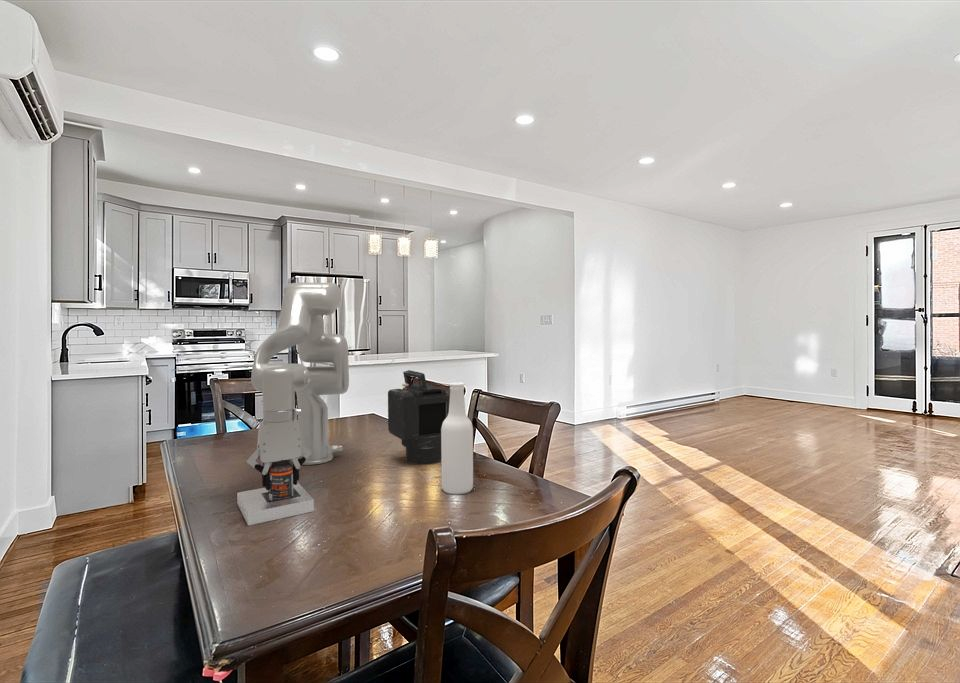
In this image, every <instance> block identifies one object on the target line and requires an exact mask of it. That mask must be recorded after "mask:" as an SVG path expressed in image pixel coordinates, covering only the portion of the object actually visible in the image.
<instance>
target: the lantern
mask: <svg viewBox="0 0 960 683" xmlns="http://www.w3.org/2000/svg"><path fill="white" fill-rule="evenodd" d="M402 373H403V378H404V383H402V385H401V386H402V388H394V389H393V388H392V389H389V390H388V391H387V430H388V432H389V433H390V434H391V435H392V436H394V437H396V438H398V439H400V440H401V446H402V447H405V460H406V462H408V463H409V464H415V465H431V464H436V463H438V462H440V461H441V428H442V424H443V421H444V420H445V419H446V417H447V416H448V413H449V401H450V394H449V395H448V391H447V390H446V389H444V388H441V387H437V386H432V385H429V384H427V381H426V374H425V373H423V372H419V371H414V370H410V369H409V370H405V371H402ZM412 377H414V378H417V379H418V384H413V380H412Z"/></svg>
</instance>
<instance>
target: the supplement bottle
mask: <svg viewBox="0 0 960 683" xmlns="http://www.w3.org/2000/svg"><path fill="white" fill-rule="evenodd" d="M268 473H269V475H270V489H269V490H268V495H269V496H268V497H269V502H275V501H280V500H285V499H290V498H293V464H291V463H290V460H281V461H278V462H273V463H271V465H270V467H269V469H268Z"/></svg>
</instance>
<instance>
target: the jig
mask: <svg viewBox="0 0 960 683" xmlns="http://www.w3.org/2000/svg"><path fill="white" fill-rule="evenodd" d="M268 496H269V495H268V490H266V488H265V487H261V488H256V489H255V488H254V489H250V490H245V491H240V492H237V493H236V500H237V501H236V502H237V506H238V508H239V510H240V512H241V514H242V516H243V519H244V520H245V523H246V524H247V526H254V525H257V524H262V523H267V522H272V521H275V520H281V519H285V518H290V517H295V516H298V515H303V514H308V513H312V512H314V511H315V503H314V502H315V499H314V498H313V497H312V496H311V495H310V493H308V492H307V490H306V489H305V488H304V487H303V486H302V485H301V484H300V483H299V482H298V481H297V485H294V484H293V498H290V499H285V500H280V501H275V502H269V497H268Z"/></svg>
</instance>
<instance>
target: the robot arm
mask: <svg viewBox="0 0 960 683" xmlns="http://www.w3.org/2000/svg"><path fill="white" fill-rule="evenodd" d="M341 301H342V294H341V289H340V287H339V286H338V284H337V283H334V282H310V281H309V282H307V281H305V282H302V281H301V282H292V283H288V284H286V285H285V286H284V288H283V297H282V303H281V307H280V308H281V309H280V314H279V319H278V324H277V325H278V326H277V330H275V331H274V332H273V333H271V335H269V336H268V337H266V339H265V340H264V341H263V342H262V343H261V344H260V345H259V347H258V348H257V351H256V352H255V354H254V357H253V358H254V359H253V363H252V368H251V373H250V374H251V376H250V379H251V380H250V382H251V385H252V388H254V390H256V391H257V392H261V393H262V418H263V419H262V421H260V422H259V424H258V432H257V444H256V445H257V446H256V449H255V451H254V452H253V453H252V454H251V455H250V456H249V458H248V459H247V460H246V463H247V464H248V465H250V467H252V468H253V469H256V470H257V471H258V472H259V473H260V474H261V485H262V488H266V490H269V489H270V475H269V473H268V469H269V467H270V466H271V465H272V463H273V462H278V461H281V460H289V461H291V463H292V464H291V465H292V466H293V484H294V485H297V482H298V481H299V480H300V469H301V466H302V465H304V466H305V465H307V466H310V465H311V466H312V465H319V464H320V465H321V464H324V463H328V462H330V461H332V460H333V459H334V452H343V451H344V450H343V449H344V448H343V445H342V444H341V445H336V444H334V445H330V444H329V421H328V420H329V415H328V414H329V412H328V411H329V410H328V406H327V403H326V402H325V401H324V399H323V398H322V397H321V396H326V395H327V396H328V395H330V396H331V395H343V394H346V393H347V392H348V389H349V386H350V384H349V383H350V375H349V374H350V372H349V371H350V370H349V369H350V368H349V346H348V341H347V339H346V338H345V336H344V335H342V334H338V333H336V334H335V333H325V320H324V316H331V315H333V314H334V313H335V311H336V310H337V309H338V308H339V306H340V305H341V304H340V303H341ZM295 346H297V354H298V358H299V360H300V361H301V362H303V363H309V364H310V363H311V364H314V363H315V364H316V363H317V364H320V363H321V364H323V363H325V364H326V363H331V364H333V365H332V366H322V365H321V366H318V365H317V366H314V365H313V366H305V365H304V364H302V363H281V362H280V363H269V362H270V361H271V360H272V359H273V357H274V356H276V355H277V354H279V353H281V352H283V351H285V350H287V349H290V348H292V347H295ZM295 392H296V394H295ZM296 398H297V400H296ZM296 402H297V408H296ZM257 459H259V460H260V462H261V464H259V463H258V462H257V461H256V460H257Z"/></svg>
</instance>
